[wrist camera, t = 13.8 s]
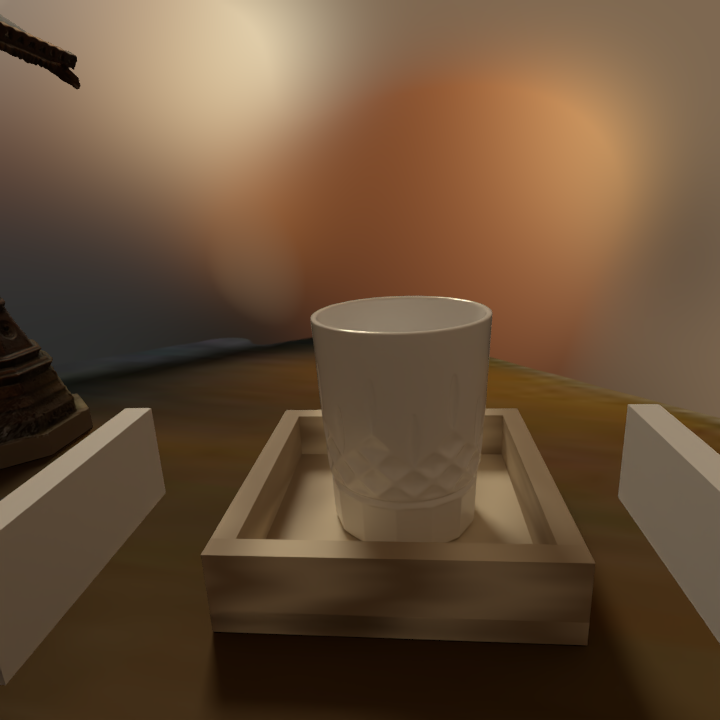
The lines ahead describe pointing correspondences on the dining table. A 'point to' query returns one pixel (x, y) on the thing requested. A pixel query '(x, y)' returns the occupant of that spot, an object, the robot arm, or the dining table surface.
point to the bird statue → (10, 344)
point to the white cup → (403, 412)
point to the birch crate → (400, 553)
